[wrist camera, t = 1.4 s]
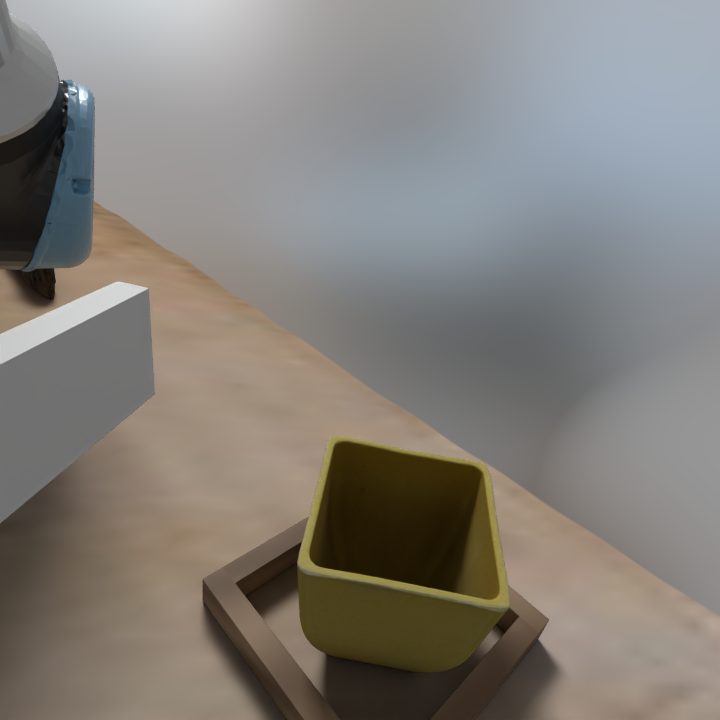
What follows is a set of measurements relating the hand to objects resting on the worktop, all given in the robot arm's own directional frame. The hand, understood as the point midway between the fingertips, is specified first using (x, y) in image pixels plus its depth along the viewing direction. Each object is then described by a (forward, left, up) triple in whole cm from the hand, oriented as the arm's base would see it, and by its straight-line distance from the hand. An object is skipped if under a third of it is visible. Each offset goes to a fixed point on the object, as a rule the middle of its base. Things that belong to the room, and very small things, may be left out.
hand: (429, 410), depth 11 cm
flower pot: (-4, +8, -21) cm, 22 cm away
